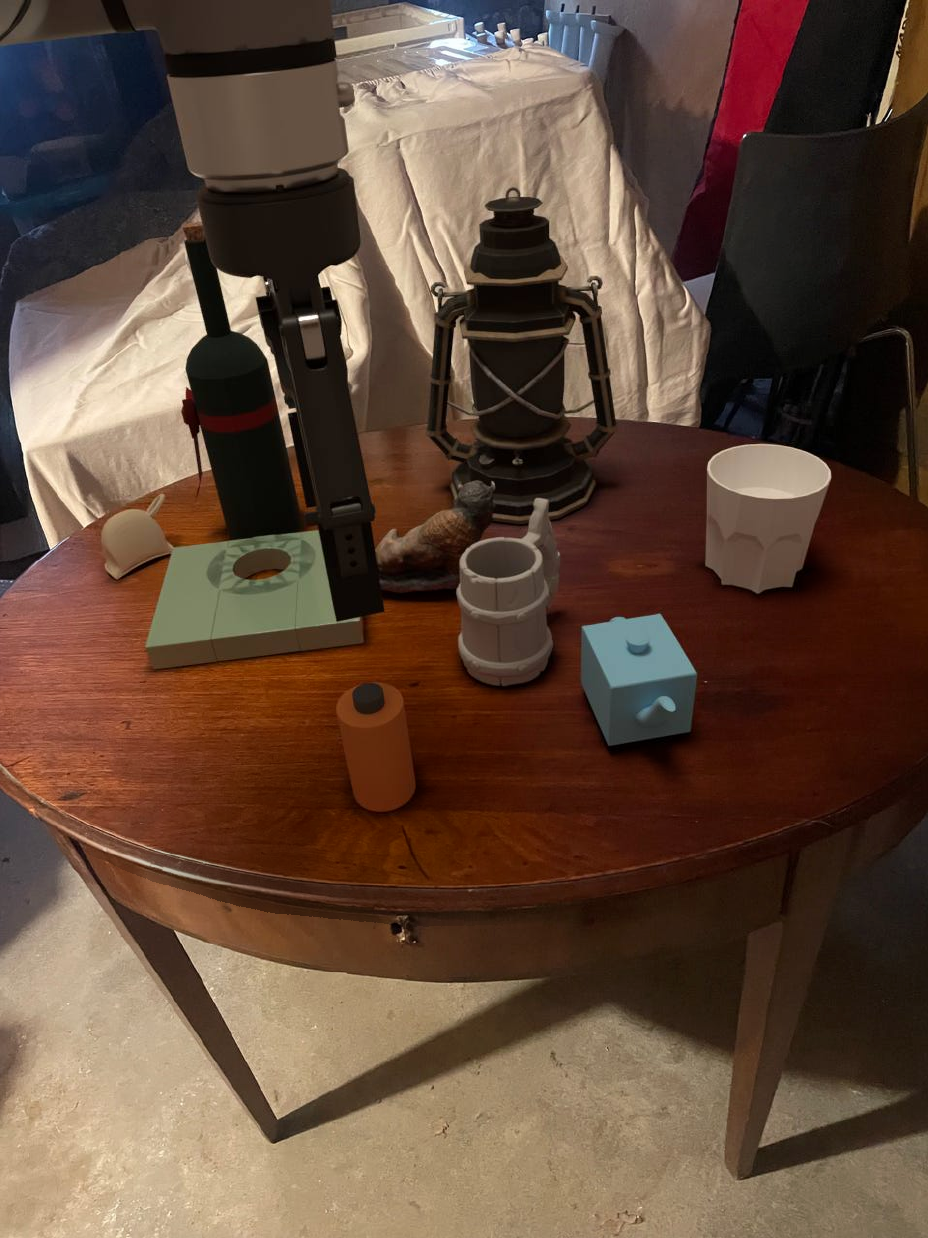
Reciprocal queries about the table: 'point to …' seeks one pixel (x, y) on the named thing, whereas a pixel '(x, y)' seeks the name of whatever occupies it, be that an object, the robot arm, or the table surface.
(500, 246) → the lantern
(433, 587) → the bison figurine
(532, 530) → the mug
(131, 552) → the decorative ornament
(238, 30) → the robot arm
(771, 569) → the cup
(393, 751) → the orange cylinder
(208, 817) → the table surface
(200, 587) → the green peg socket base
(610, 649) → the teapot
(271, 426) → the wine bottle
